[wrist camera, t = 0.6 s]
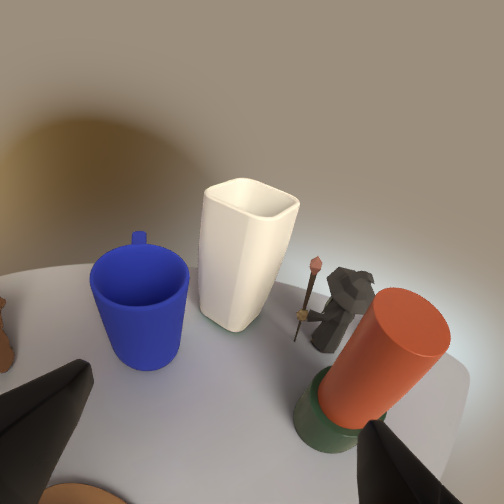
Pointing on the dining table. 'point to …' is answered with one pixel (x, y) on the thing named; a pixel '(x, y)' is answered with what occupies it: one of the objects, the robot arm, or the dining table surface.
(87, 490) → the cork mat
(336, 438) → the tin
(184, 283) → the mug
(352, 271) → the wizard figurine
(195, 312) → the dining table surface
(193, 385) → the dining table surface
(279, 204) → the cup
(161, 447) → the dining table surface
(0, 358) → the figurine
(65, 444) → the robot arm
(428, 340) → the top tin
